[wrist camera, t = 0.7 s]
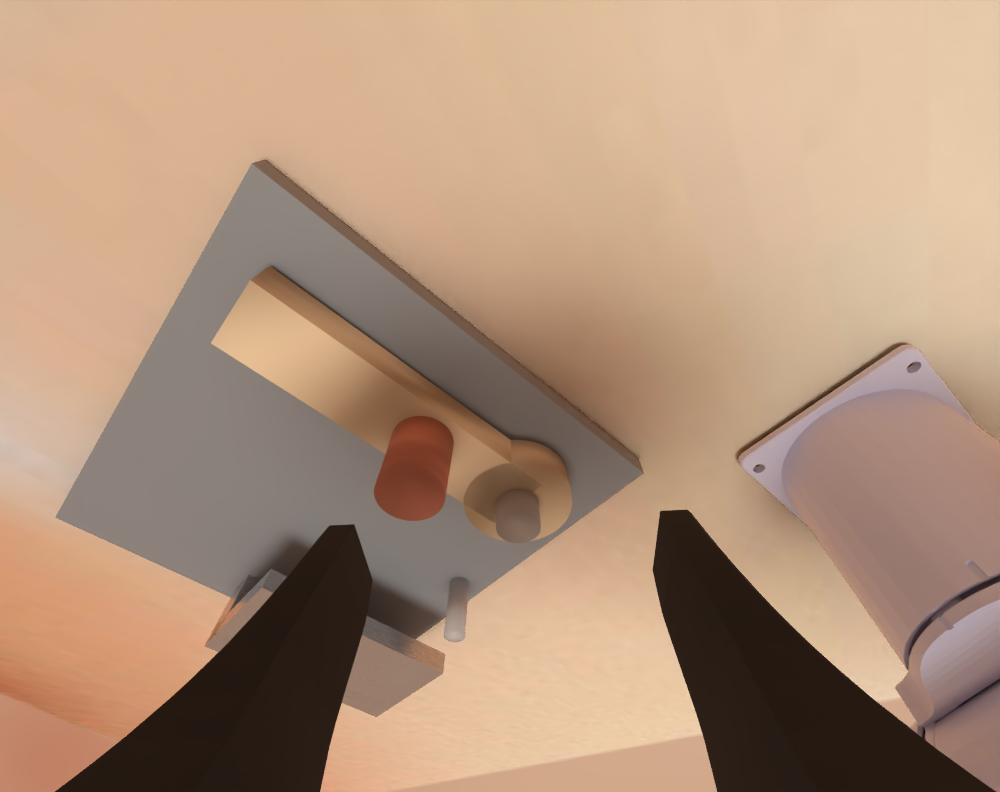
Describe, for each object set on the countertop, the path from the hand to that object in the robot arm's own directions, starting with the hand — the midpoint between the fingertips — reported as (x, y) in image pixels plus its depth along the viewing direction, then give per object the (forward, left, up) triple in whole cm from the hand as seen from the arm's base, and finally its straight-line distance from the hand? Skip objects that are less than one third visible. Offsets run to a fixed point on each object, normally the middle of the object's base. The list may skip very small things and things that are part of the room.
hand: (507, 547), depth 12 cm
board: (+1, +10, -10) cm, 14 cm away
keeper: (-4, +17, -10) cm, 20 cm away
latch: (+1, +4, -9) cm, 10 cm away
